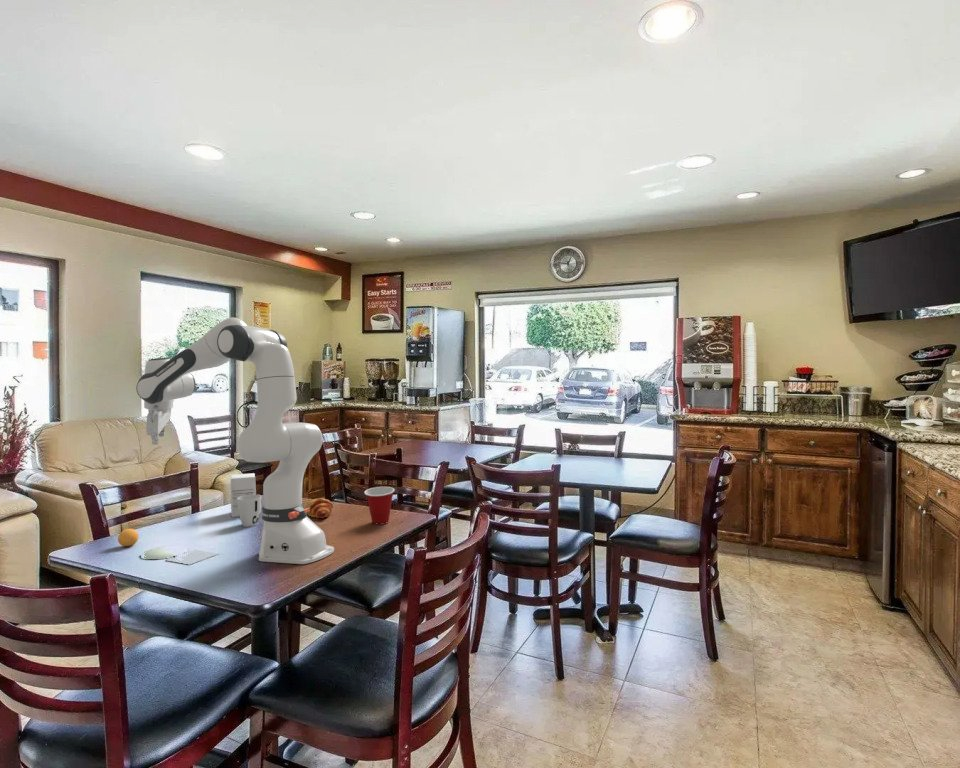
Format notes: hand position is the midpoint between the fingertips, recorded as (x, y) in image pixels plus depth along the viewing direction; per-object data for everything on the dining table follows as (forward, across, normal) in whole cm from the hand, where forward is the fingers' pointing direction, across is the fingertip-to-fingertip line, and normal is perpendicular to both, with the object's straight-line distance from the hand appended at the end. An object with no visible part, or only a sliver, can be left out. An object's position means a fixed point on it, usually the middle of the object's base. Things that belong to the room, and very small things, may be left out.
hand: (158, 440), depth 193 cm
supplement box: (+31, +3, -29) cm, 42 cm away
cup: (+27, -15, -32) cm, 45 cm away
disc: (+24, -39, -10) cm, 46 cm away
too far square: (+21, -47, -18) cm, 55 cm away
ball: (+24, -27, +3) cm, 36 cm away
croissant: (+27, -9, -57) cm, 63 cm away
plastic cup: (+21, -30, -76) cm, 85 cm away
